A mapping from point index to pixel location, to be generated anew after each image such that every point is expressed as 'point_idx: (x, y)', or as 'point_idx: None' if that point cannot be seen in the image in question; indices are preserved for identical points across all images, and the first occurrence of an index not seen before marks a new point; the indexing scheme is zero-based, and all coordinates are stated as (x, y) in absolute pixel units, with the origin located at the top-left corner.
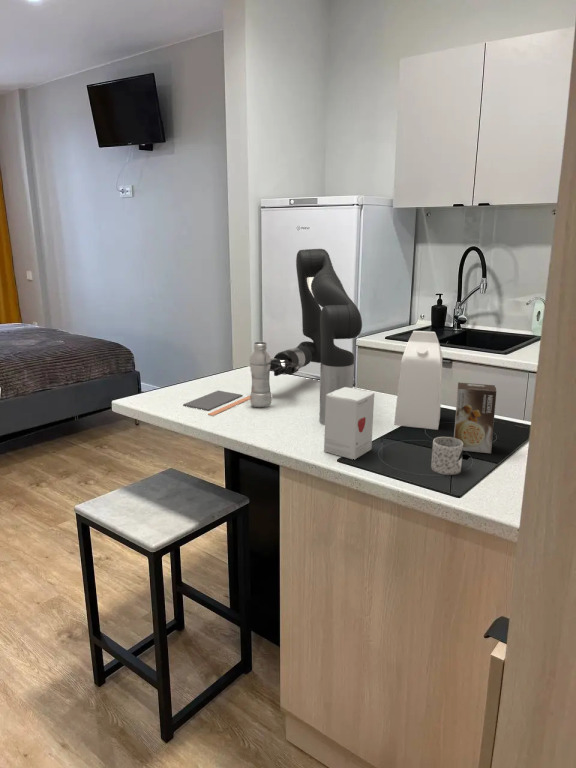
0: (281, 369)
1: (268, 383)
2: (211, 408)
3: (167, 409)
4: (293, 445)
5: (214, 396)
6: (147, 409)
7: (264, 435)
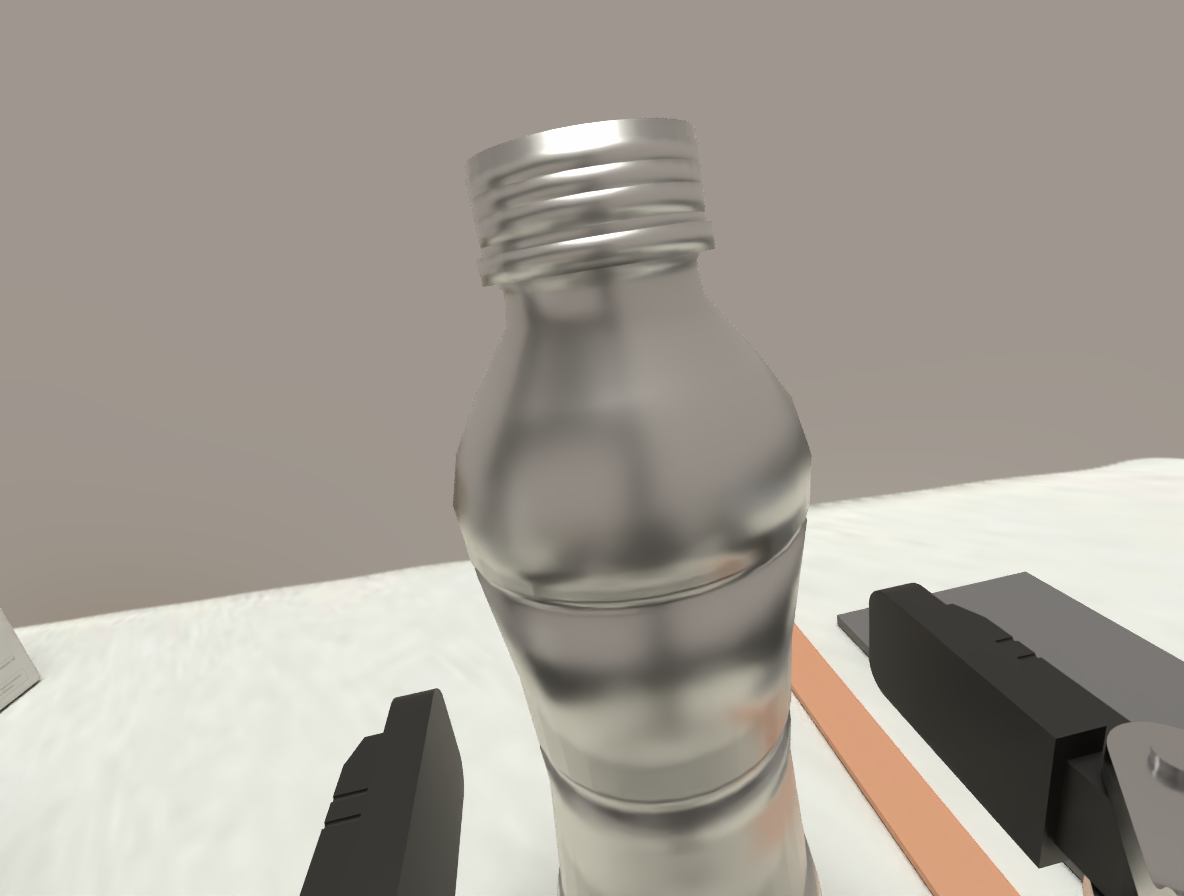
0: (325, 834)
1: (551, 792)
2: (853, 633)
3: (976, 530)
4: (193, 647)
5: None
6: (1011, 493)
7: (352, 632)
